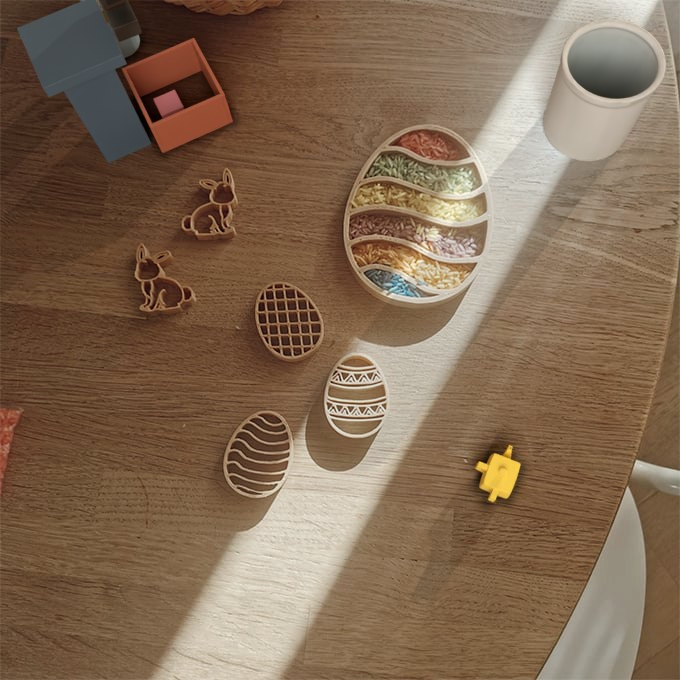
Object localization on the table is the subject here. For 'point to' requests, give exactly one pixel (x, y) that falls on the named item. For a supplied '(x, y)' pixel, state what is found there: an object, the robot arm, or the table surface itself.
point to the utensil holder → (602, 88)
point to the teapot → (498, 474)
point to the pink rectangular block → (168, 104)
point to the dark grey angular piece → (121, 19)
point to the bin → (167, 71)
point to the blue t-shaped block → (86, 74)
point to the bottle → (127, 45)
